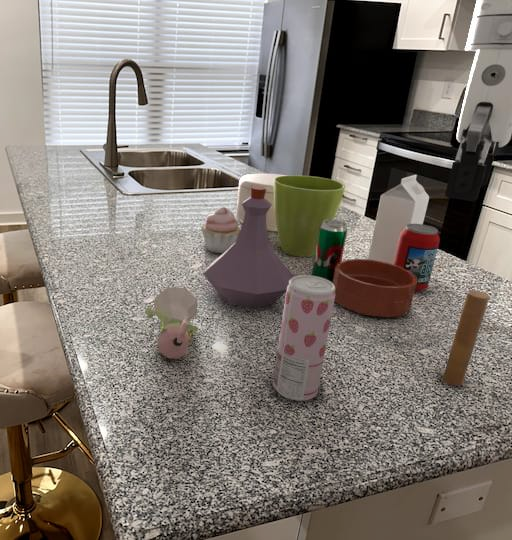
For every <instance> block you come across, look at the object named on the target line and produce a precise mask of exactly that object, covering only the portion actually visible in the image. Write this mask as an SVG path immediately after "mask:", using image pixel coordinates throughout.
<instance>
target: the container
mask: <svg viewBox="0 0 512 540" xmlns="http://www.w3.org/2000/svg"><path fill="white" fill-rule="evenodd" d="M279 176H288V175H285V174H278V173H250V174H246V175H244V176H242V177H240V180H239V182H238V191H237V202H236V212H235V216H236V219H238V220H240V222H241V224H243V221H244V217H245V211H244V208H243V205H242V203H243V202H244V201H245V200H247V199H249V198H250V197H251V187H253V186H260V187H265V188H266V193H265V197H264V198H265V199H266V200H267V201H268V202H270V203H271V204H272V206H271V207H270V209H269V210H268V212H267V217H266V224H267V231H268V232H278V230H277V224H276V216H275V206H274V179H275V178H276V177H279Z"/></svg>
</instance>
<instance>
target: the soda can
mask: <svg viewBox="0 0 512 540" xmlns="http://www.w3.org/2000/svg"><path fill="white" fill-rule="evenodd" d="M347 234H348V228H347V223H346V222H345V221H341V220H337V219H333V220H323V221H322V224H321V225H320V226H319V232H318V238H317V244H316V250H315V254H314V255H313V263H312V269H311V276H317V277H321V278H324V279H327V280H329V281H330V282H332V283H333V278H334V273H335V267H336V265H337V263H338V262H341V261H343V256H344V250H345V246H346V245H345V244H346V239H347Z"/></svg>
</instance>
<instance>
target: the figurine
mask: <svg viewBox="0 0 512 540" xmlns="http://www.w3.org/2000/svg"><path fill="white" fill-rule="evenodd" d="M153 304H154V306H153V308H154V309H153V308H150V307H146V309H145V310H144V311H145V313H144V314H145V315H147V317H148V318H149V319H152V318H153V317H154V316H156V318H158V320H159V321H160V322H161V325H160V329H159V336H158V339H157V342H156V344H157V346H156V348H157V349H158V352H159V353H160V354H162V356H165V357H166V358H167V359H173V360H179V359H181V358H183V357H185V355H186V354H187V351H188V349H189V345H190V344H191V343H193V342H194V341H195V339H193V338H192V335H193V334H196V333H197V332H198V330H199V327H197V326H196V325H194V324H191V323H189V322H190V321H191V320H193V319H194V318H195V317H197V316H198V315H197V314H198V298H197V297H195V296H194V295H193V294H192V293H191V292H190V290H188V289H187V288H186V287H170V286H169V287H166V288H164V289H163V290H162V291H161V292H159V294H157V295H156V296H155V297H154V303H153Z"/></svg>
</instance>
